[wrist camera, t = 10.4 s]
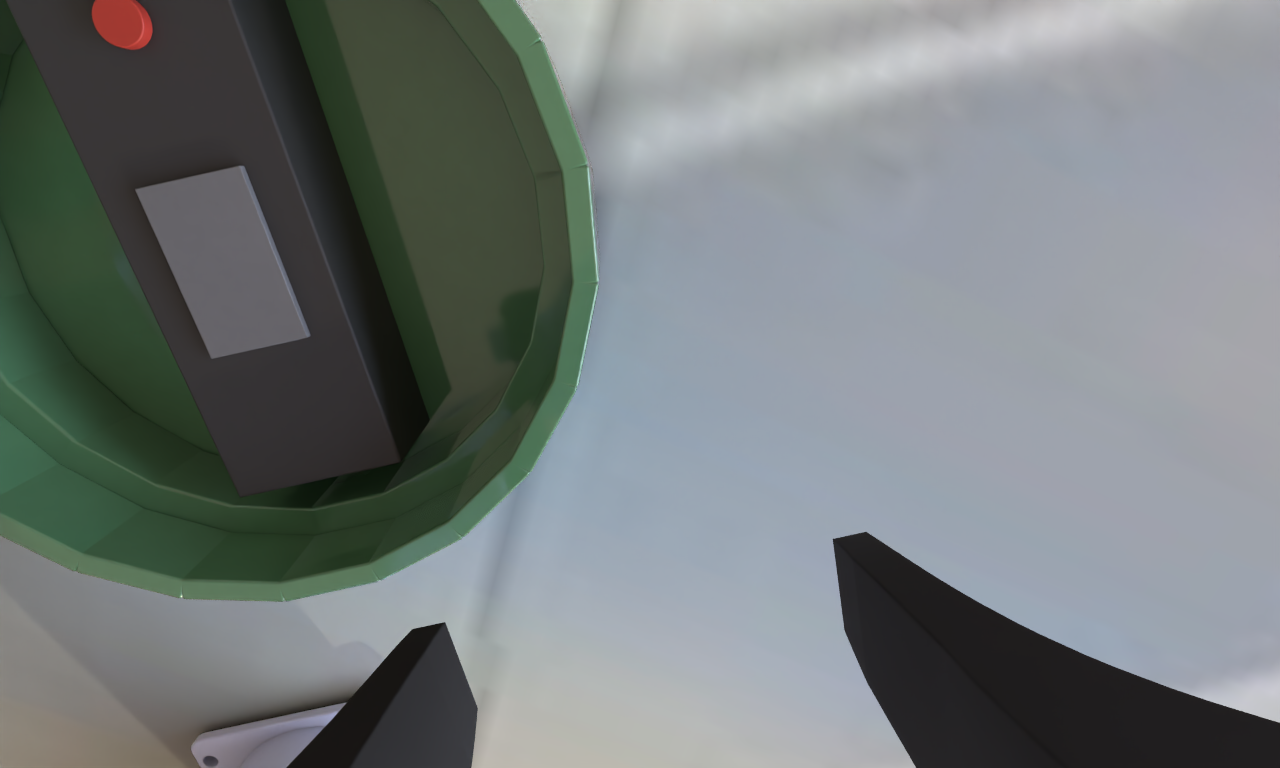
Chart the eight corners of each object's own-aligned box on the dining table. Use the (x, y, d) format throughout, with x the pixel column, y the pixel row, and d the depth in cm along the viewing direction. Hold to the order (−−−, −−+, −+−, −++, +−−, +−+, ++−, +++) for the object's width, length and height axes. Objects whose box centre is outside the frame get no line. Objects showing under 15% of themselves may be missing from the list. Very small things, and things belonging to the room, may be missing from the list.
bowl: (653, 440, 21) (668, 520, 16) (137, 552, 21) (0, 664, 16) (508, -207, 15) (466, -381, 10) (-191, -45, 15) (-547, -143, 11)
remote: (430, 420, 19) (398, 468, 16) (292, 451, 19) (232, 504, 16) (270, -45, 15) (186, -100, 12) (96, -5, 15) (-32, -49, 12)
